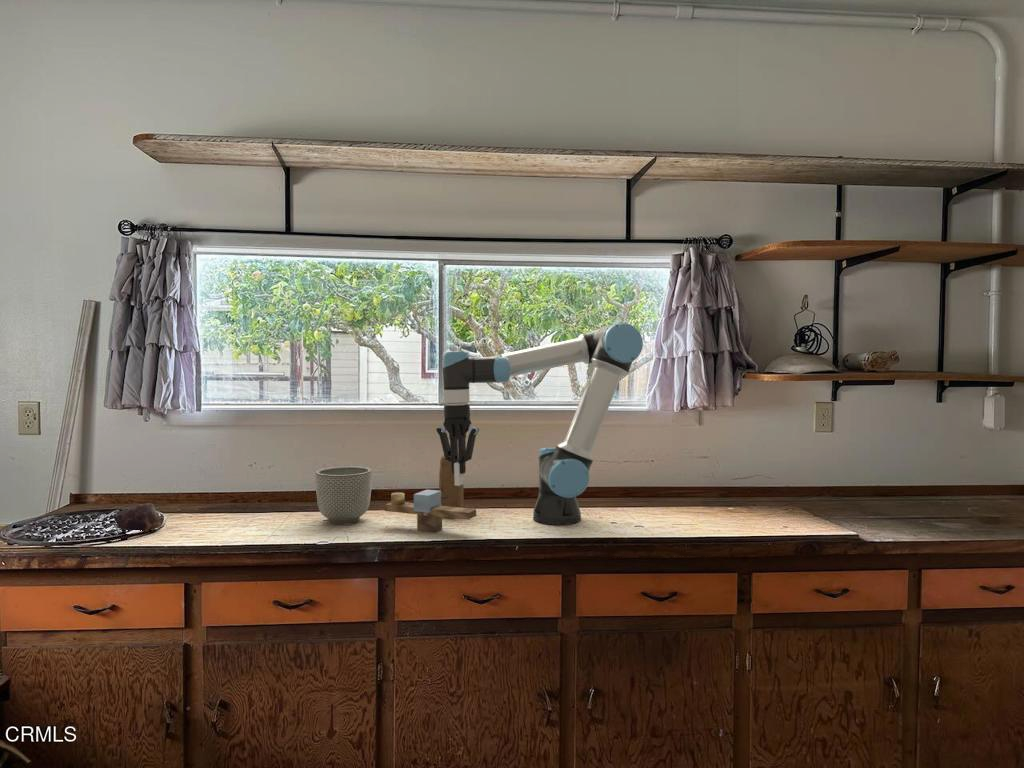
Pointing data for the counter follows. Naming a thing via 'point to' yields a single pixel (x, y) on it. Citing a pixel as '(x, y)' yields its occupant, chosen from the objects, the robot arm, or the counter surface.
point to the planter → (343, 493)
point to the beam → (431, 519)
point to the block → (449, 486)
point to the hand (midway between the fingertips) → (459, 484)
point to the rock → (139, 518)
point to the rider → (426, 500)
